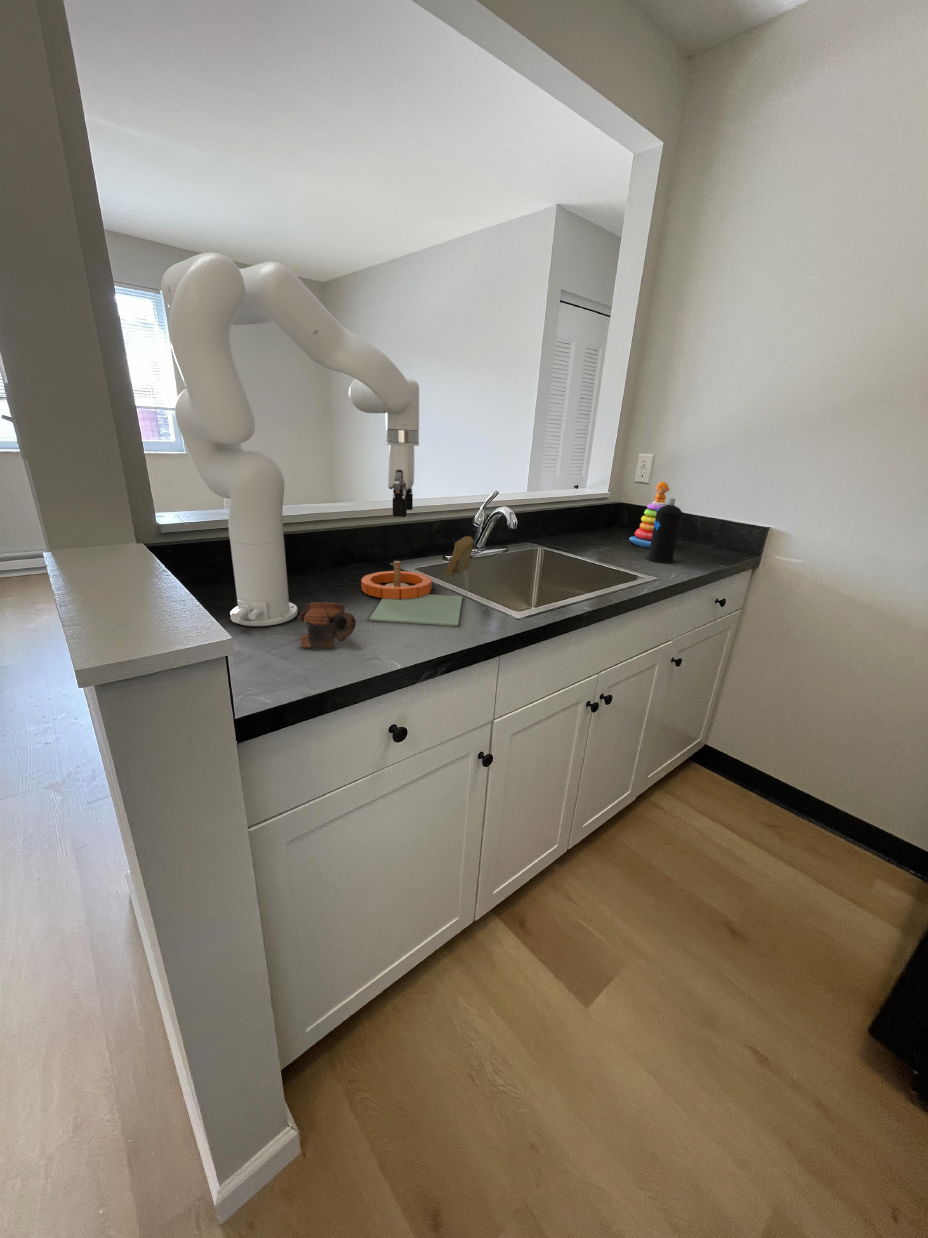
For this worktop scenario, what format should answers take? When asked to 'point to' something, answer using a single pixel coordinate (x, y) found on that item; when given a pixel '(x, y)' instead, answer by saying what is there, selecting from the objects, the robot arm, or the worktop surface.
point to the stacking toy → (650, 517)
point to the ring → (391, 592)
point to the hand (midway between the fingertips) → (403, 512)
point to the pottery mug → (325, 624)
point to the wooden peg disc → (397, 575)
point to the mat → (420, 610)
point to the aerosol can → (665, 533)
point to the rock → (460, 556)
